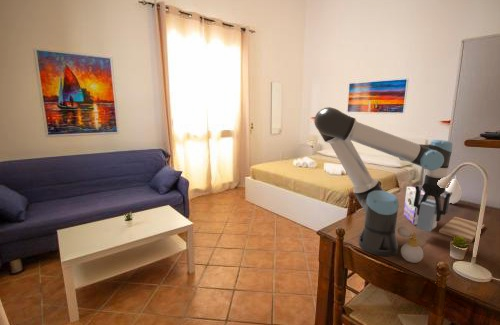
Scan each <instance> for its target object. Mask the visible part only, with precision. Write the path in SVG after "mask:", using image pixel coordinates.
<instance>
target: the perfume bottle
mask: <svg viewBox="0 0 500 325" xmlns="http://www.w3.org/2000/svg"><path fill="white" fill-rule="evenodd" d="M397 234H399V235H400V236H401V237H404V238H408V242H406V243H404V244H402V246H401V248H400V254H401V256H402V258H403V259H404V260H405V261H407V262H409V263H414V264H416V263H419V262H421V261H422V260H423V259H424V251H423V249H422V247H421V246H420V245H419V244H418V243H419V240H418V239H417V236H416V233H415V232H414V233H413V234H412V232H411V231H410V230H409V229H408V228H407V227H404V226H400V227H398V228H397Z"/></svg>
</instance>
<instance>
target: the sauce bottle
mask: <svg viewBox="0 0 500 325" xmlns="http://www.w3.org/2000/svg"><path fill="white" fill-rule="evenodd" d="M450 182H451V183H450V185H449V187H448V188H446V187H445V191H447V192H449V193H450V192H451V193H452V195H451V197H450V200H449V204H450V203H452V204H451V205H453V204H456V203H458V202H459V201H460V199H461V197H462V187H461V184H460V182H459V181H458V179H457V175H454V178H452V179H451V181H450Z"/></svg>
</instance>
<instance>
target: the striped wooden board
mask: <svg viewBox="0 0 500 325" xmlns="http://www.w3.org/2000/svg"><path fill="white" fill-rule="evenodd" d="M477 223H478V222H476V221H473V220H469V219H466V218H461V217H458V216H454V217H452V218H451V219H450V220H449V221H448V222H447V223H446V224H444V225H443V226H442V227H441V228H440V229H438V233H439V234H442V235H446V236H449V237H452V238H455V236H461V237H464V238H465V239H466V241H465V242H469V243H472V242H473V241H474V239H475V238H476V237H475V234H476V228H477ZM482 224H483V225H482V230H483V229H484V228H485V224H484V223H482Z"/></svg>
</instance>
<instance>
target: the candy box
mask: <svg viewBox="0 0 500 325" xmlns="http://www.w3.org/2000/svg"><path fill="white" fill-rule="evenodd" d="M415 187H416V186H406V189H405V198H404V206H403V216H404V217H405V218H406V219H407V220H408V221H409V222H410V223H411V224H412V225H413V226H417V222H418V215H417V210H418V208H417V207H414V200H415V195H416V188H415ZM424 194H425V191H424V189H422V190H421V194H420V199H419V204H420V202H421V200H422V198H423V196H424ZM427 199H430V196H428V198H427Z"/></svg>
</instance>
